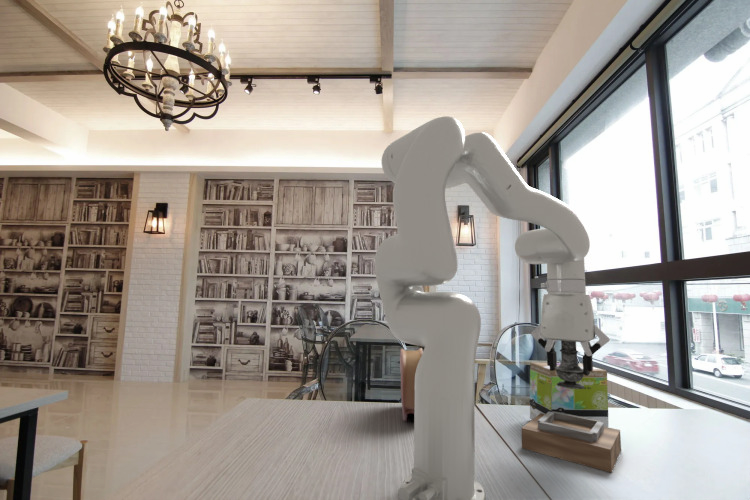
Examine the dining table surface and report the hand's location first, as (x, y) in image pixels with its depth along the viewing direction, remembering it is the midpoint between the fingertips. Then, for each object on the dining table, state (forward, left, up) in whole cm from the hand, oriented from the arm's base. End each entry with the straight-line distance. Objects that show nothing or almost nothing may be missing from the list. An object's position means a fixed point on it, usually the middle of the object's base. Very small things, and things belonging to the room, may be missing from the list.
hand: (569, 371), depth 80 cm
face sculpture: (-5, +37, -16) cm, 41 cm away
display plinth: (0, 0, -16) cm, 16 cm away
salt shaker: (0, 0, -3) cm, 3 cm away
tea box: (+16, +4, -16) cm, 23 cm away
